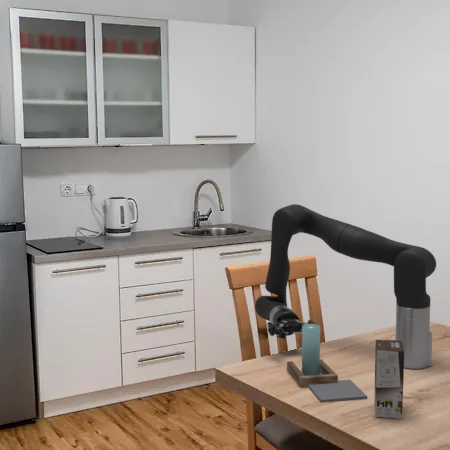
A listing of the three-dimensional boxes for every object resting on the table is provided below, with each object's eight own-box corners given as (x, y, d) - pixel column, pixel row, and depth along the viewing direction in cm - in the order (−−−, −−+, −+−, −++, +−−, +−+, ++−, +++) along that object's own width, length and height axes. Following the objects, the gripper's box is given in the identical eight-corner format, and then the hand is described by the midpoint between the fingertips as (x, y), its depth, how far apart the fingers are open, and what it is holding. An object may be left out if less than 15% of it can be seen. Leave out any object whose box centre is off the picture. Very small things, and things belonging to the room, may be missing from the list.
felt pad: (350, 381, 182) (350, 379, 182) (367, 398, 170) (367, 396, 170) (306, 384, 180) (306, 382, 180) (320, 402, 168) (320, 399, 168)
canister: (316, 372, 189) (317, 323, 187) (322, 378, 184) (322, 328, 182) (299, 374, 188) (300, 324, 186) (304, 380, 183) (305, 329, 182)
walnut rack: (321, 367, 193) (321, 359, 192) (337, 384, 180) (337, 375, 179) (286, 370, 191) (287, 361, 191) (300, 387, 178) (300, 378, 178)
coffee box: (403, 419, 158) (405, 351, 155) (374, 417, 159) (375, 349, 157) (401, 404, 166) (402, 339, 164) (374, 402, 168) (375, 338, 166)
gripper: (261, 309, 210) (274, 323, 194) (306, 306, 212) (323, 320, 197) (261, 332, 211) (274, 349, 195) (306, 330, 214) (322, 346, 198)
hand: (298, 335), depth 196 cm, fingers open, 8 cm apart
